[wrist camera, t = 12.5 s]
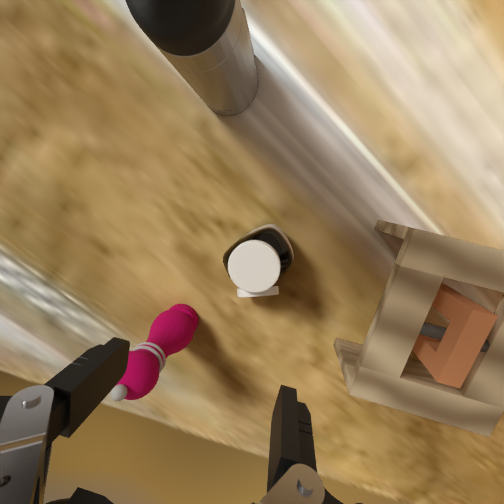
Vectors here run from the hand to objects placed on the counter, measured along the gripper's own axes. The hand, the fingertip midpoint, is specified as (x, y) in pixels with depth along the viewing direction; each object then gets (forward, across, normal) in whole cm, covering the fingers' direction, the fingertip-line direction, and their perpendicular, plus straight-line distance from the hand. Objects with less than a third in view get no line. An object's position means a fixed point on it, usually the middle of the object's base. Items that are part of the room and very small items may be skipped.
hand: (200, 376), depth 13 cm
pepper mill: (+32, +11, +17) cm, 38 cm away
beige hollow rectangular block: (+32, -26, +3) cm, 41 cm away
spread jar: (+32, -1, +2) cm, 32 cm away
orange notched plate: (+28, -26, +3) cm, 38 cm away
